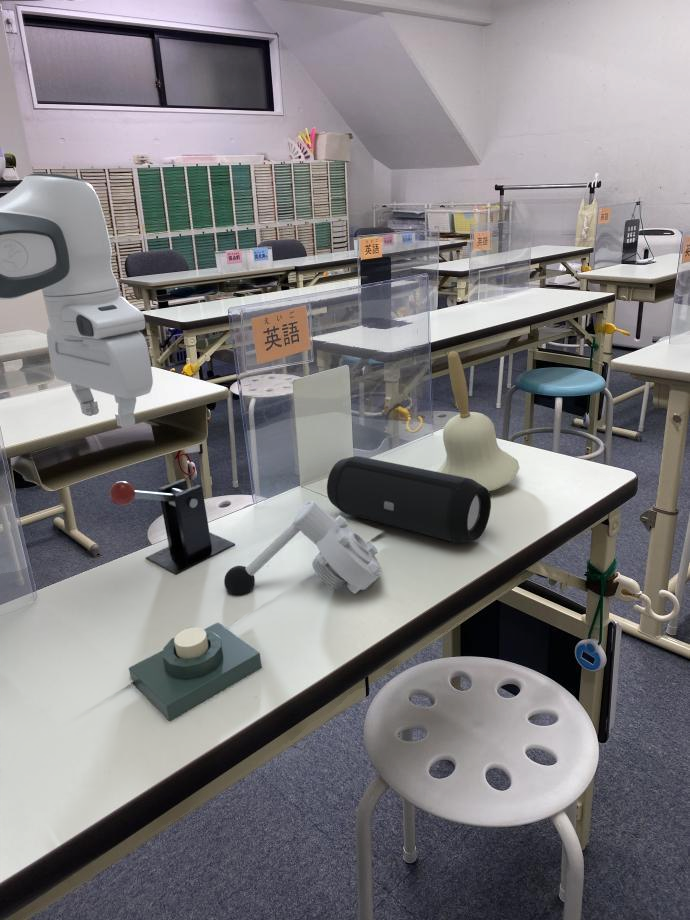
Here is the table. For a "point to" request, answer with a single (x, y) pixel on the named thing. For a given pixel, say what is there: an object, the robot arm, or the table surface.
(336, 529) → the mechanical valve
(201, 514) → the bracket
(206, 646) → the button
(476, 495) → the portable speaker
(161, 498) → the lever
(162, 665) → the control block
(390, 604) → the table surface
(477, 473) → the handbell
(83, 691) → the table surface
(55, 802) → the table surface
